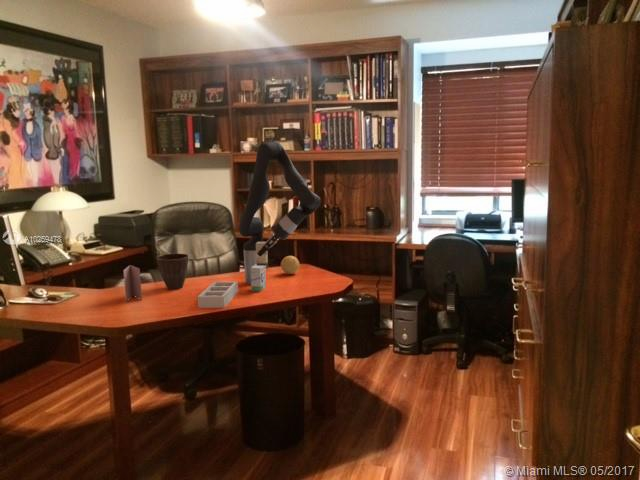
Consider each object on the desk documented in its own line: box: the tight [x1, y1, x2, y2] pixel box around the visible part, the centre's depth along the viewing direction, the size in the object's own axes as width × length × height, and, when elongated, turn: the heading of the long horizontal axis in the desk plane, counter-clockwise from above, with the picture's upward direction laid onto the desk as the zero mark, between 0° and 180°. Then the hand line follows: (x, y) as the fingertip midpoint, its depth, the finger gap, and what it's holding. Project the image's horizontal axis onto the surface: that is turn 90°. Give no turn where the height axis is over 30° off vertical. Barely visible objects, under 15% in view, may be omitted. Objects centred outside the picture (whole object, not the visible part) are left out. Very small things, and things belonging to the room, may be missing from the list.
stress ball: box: [280, 255, 300, 275], centre depth 289 cm, size 10×10×10 cm
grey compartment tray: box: [197, 281, 239, 309], centre depth 244 cm, size 26×11×5 cm, turn 175°
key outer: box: [205, 294, 223, 296], centre depth 236 cm, size 6×8×1 cm
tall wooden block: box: [256, 241, 269, 267], centre depth 242 cm, size 4×4×10 cm
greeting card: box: [122, 264, 143, 302], centre depth 248 cm, size 11×7×15 cm, turn 5°
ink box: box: [250, 264, 267, 293], centre depth 259 cm, size 9×5×12 cm, turn 168°
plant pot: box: [156, 253, 189, 291], centre depth 266 cm, size 15×15×16 cm
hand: (259, 253), depth 242 cm, fingers closed on tall wooden block, 4 cm apart
